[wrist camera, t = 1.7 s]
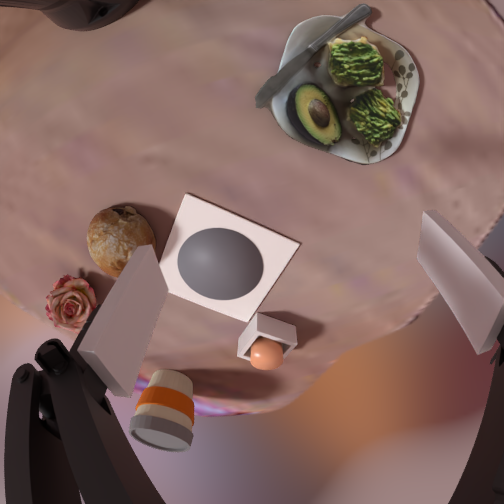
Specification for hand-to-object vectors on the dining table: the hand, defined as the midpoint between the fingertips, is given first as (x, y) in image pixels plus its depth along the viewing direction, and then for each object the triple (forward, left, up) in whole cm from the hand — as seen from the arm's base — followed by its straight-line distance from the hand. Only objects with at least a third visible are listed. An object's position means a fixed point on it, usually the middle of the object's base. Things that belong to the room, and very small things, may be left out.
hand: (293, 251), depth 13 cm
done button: (+13, -26, -19) cm, 35 cm away
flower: (-19, -33, -22) cm, 44 cm away
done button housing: (+13, -26, -22) cm, 37 cm away
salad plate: (+4, +11, -23) cm, 25 cm away
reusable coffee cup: (+3, -50, -22) cm, 55 cm away
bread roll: (-13, -19, -23) cm, 33 cm away
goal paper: (+1, -17, -22) cm, 28 cm away
